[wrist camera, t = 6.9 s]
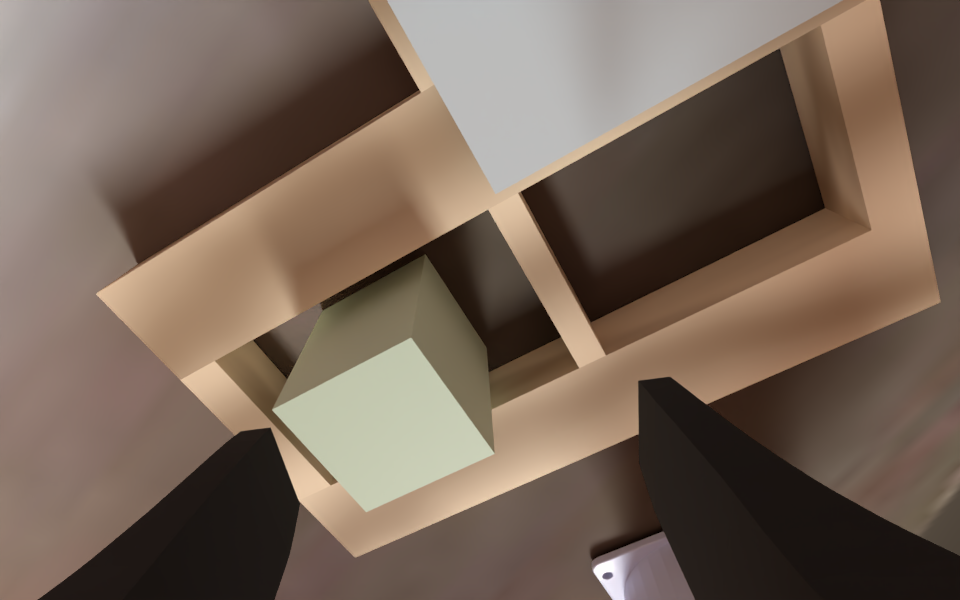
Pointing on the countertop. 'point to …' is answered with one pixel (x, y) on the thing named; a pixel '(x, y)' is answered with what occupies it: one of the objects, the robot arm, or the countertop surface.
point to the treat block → (392, 388)
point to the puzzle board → (547, 274)
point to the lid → (575, 64)
